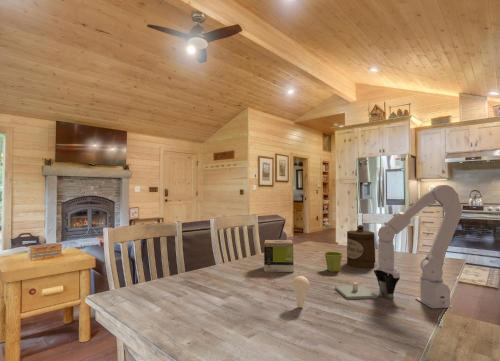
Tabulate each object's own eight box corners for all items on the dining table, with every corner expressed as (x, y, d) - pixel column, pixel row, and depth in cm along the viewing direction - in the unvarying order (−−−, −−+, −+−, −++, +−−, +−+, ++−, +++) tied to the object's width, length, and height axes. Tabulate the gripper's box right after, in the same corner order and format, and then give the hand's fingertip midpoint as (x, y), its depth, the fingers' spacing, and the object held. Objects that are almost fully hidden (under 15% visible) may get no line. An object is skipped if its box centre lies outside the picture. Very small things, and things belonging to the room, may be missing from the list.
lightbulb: (297, 302, 109) (297, 272, 109) (312, 307, 105) (312, 276, 105) (288, 307, 104) (288, 276, 105) (304, 312, 100) (304, 280, 101)
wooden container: (341, 262, 169) (341, 224, 170) (363, 260, 174) (363, 223, 174) (358, 269, 155) (358, 227, 156) (381, 267, 160) (381, 226, 160)
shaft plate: (377, 298, 114) (377, 287, 114) (347, 299, 113) (347, 288, 113) (362, 287, 126) (362, 278, 126) (335, 288, 125) (335, 279, 125)
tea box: (292, 267, 158) (292, 239, 158) (293, 272, 148) (293, 243, 148) (264, 266, 159) (264, 239, 160) (263, 271, 149) (263, 242, 150)
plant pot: (339, 274, 146) (338, 256, 146) (321, 270, 152) (321, 253, 152) (345, 270, 153) (345, 253, 154) (328, 267, 159) (328, 250, 159)
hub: (396, 298, 114) (396, 282, 114) (383, 298, 114) (383, 282, 114) (388, 293, 119) (388, 278, 119) (377, 293, 119) (376, 278, 119)
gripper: (367, 252, 124) (367, 285, 123) (386, 261, 109) (387, 298, 109) (383, 252, 124) (383, 284, 124) (404, 260, 110) (405, 297, 110)
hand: (386, 291), depth 116 cm, fingers closed on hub, 5 cm apart
